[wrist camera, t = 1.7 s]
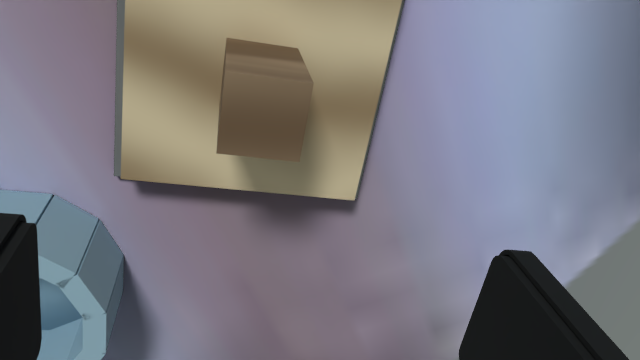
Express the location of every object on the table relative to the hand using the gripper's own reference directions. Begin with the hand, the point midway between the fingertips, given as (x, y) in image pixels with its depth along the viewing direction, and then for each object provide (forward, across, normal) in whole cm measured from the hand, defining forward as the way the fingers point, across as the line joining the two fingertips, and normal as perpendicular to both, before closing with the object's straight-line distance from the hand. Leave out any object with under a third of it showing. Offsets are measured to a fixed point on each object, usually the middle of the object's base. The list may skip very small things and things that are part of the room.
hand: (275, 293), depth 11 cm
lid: (+15, 0, -1) cm, 15 cm away
